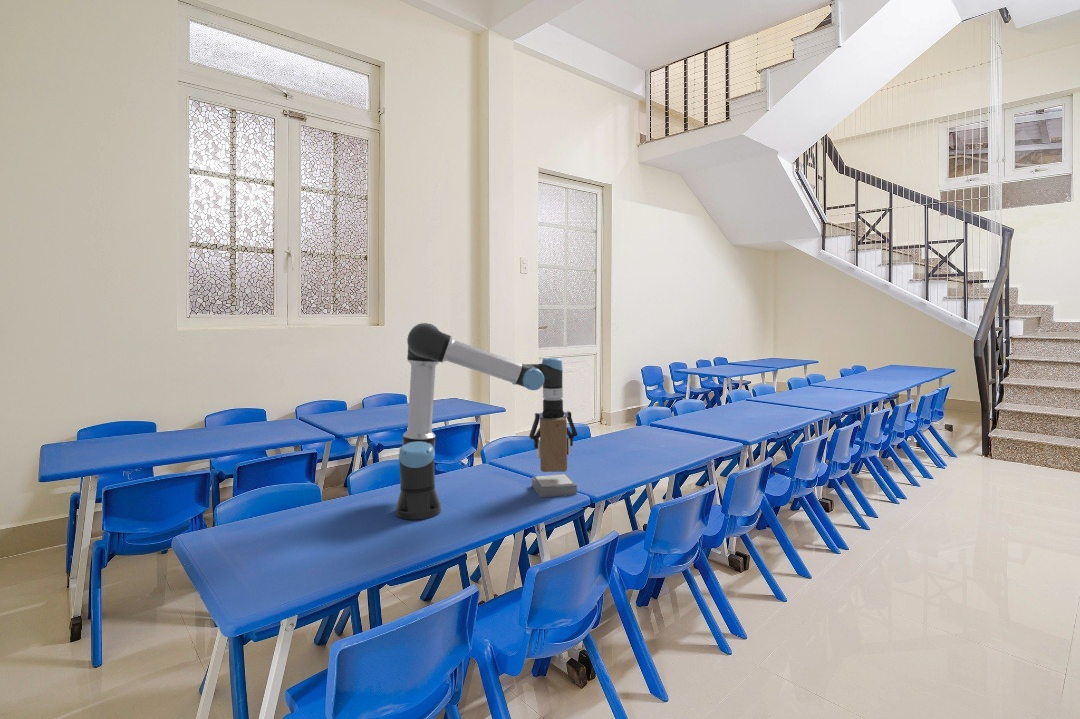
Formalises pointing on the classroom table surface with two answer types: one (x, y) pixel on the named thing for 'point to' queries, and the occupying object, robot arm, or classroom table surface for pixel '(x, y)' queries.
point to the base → (554, 485)
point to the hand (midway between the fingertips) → (553, 455)
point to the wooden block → (553, 444)
